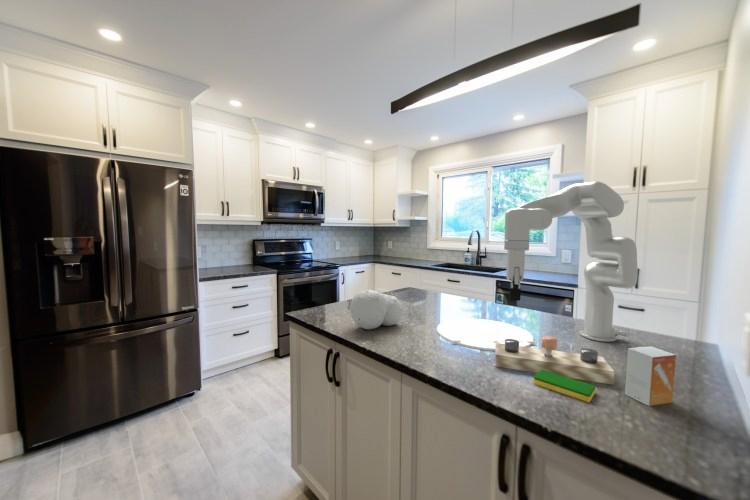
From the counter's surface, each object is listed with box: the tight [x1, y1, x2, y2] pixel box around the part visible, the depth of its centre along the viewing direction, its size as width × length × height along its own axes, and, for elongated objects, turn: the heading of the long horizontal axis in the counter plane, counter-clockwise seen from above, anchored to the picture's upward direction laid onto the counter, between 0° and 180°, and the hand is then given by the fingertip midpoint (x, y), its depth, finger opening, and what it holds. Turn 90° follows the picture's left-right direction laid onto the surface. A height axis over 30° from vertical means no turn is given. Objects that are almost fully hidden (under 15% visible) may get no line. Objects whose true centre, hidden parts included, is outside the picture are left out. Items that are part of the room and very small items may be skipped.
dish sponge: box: [532, 370, 596, 403], centre depth 87 cm, size 7×14×2 cm, turn 44°
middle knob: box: [540, 335, 558, 357], centre depth 100 cm, size 4×4×7 cm
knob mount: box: [494, 343, 615, 385], centre depth 100 cm, size 32×11×4 cm, turn 68°
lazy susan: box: [436, 318, 537, 352], centre depth 133 cm, size 40×39×3 cm
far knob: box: [505, 339, 519, 352], centre depth 104 cm, size 4×4×7 cm
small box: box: [624, 345, 677, 407], centre depth 81 cm, size 8×6×13 cm
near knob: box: [579, 347, 599, 363], centre depth 96 cm, size 4×4×7 cm
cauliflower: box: [349, 289, 404, 330], centre depth 143 cm, size 20×25×22 cm
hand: (514, 299), depth 104 cm, fingers closed
